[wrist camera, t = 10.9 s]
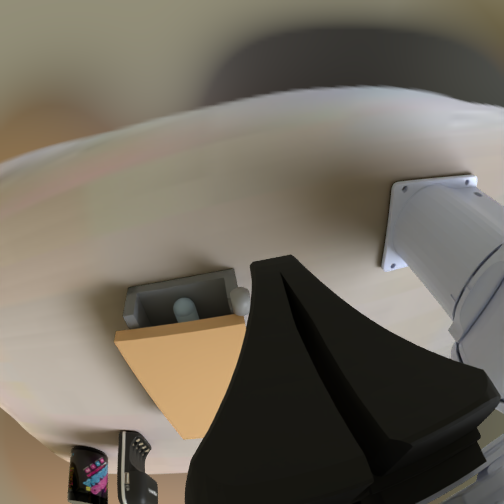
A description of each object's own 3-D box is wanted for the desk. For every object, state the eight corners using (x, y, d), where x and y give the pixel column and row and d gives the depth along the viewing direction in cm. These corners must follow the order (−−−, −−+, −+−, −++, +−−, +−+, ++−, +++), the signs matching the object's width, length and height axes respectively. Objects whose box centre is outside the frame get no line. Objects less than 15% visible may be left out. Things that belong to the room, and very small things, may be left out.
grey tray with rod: (241, 261, 22) (250, 298, 19) (264, 402, 34) (271, 430, 31) (126, 282, 22) (118, 320, 18) (193, 413, 34) (196, 442, 30)
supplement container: (110, 460, 42) (109, 511, 33) (74, 454, 40) (71, 504, 31) (107, 449, 38) (106, 506, 30) (68, 441, 36) (63, 497, 28)
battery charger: (157, 446, 39) (161, 514, 29) (134, 447, 38) (135, 513, 29) (143, 429, 35) (145, 506, 25) (117, 429, 34) (116, 504, 25)
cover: (242, 312, 20) (244, 323, 20) (263, 421, 31) (265, 428, 30) (116, 331, 20) (113, 341, 19) (183, 431, 30) (183, 439, 29)
